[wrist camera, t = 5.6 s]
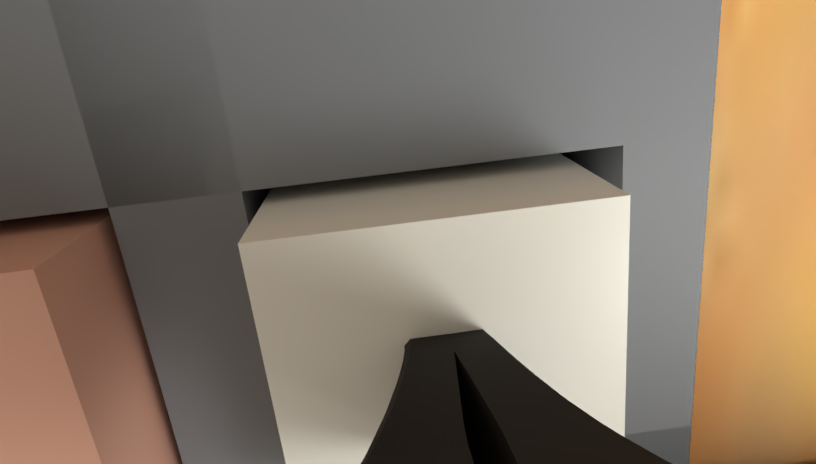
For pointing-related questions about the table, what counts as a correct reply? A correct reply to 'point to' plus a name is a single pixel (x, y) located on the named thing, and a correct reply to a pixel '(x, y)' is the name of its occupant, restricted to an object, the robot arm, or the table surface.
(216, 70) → the key console
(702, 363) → the table surface
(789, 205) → the table surface
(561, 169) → the cream key
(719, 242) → the table surface
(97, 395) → the terracotta key
